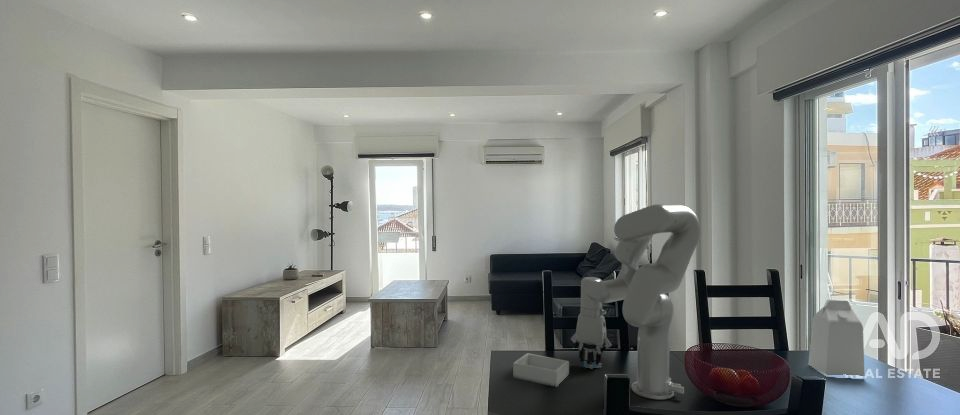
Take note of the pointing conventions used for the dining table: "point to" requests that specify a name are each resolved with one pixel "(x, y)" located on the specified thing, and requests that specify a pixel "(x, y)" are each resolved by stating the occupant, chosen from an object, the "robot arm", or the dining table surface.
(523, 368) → the bin
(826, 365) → the milk
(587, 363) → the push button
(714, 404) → the dining table surface
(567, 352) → the dining table surface
